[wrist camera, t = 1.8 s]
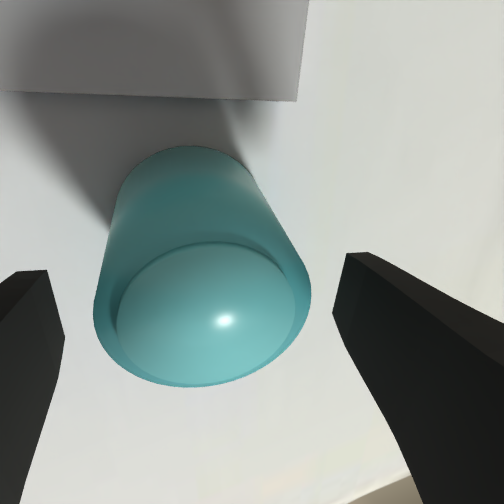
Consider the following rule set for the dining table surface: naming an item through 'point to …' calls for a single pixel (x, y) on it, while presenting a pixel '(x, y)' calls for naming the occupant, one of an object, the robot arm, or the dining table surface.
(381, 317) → the robot arm
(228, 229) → the cap
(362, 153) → the dining table surface
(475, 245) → the dining table surface
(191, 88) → the octagonal ring on plate
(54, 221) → the dining table surface
